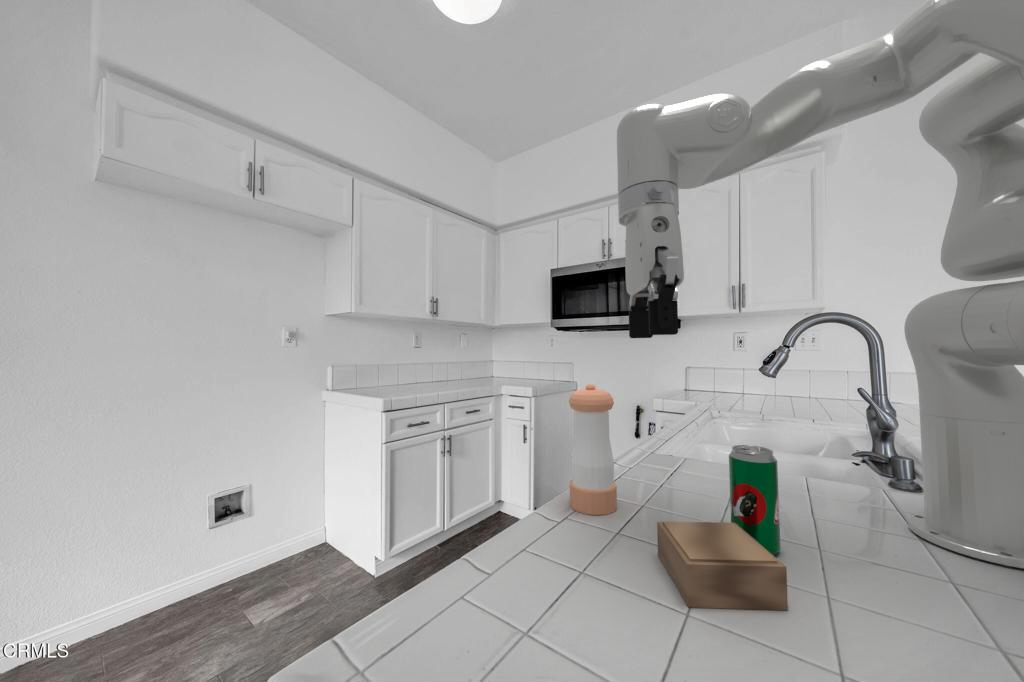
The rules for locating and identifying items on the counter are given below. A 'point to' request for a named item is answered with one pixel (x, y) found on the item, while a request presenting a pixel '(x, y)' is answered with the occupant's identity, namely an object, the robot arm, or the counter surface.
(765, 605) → the walnut base
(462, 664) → the counter surface
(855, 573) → the counter surface
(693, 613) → the counter surface
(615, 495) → the pepper shaker
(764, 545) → the soda can
